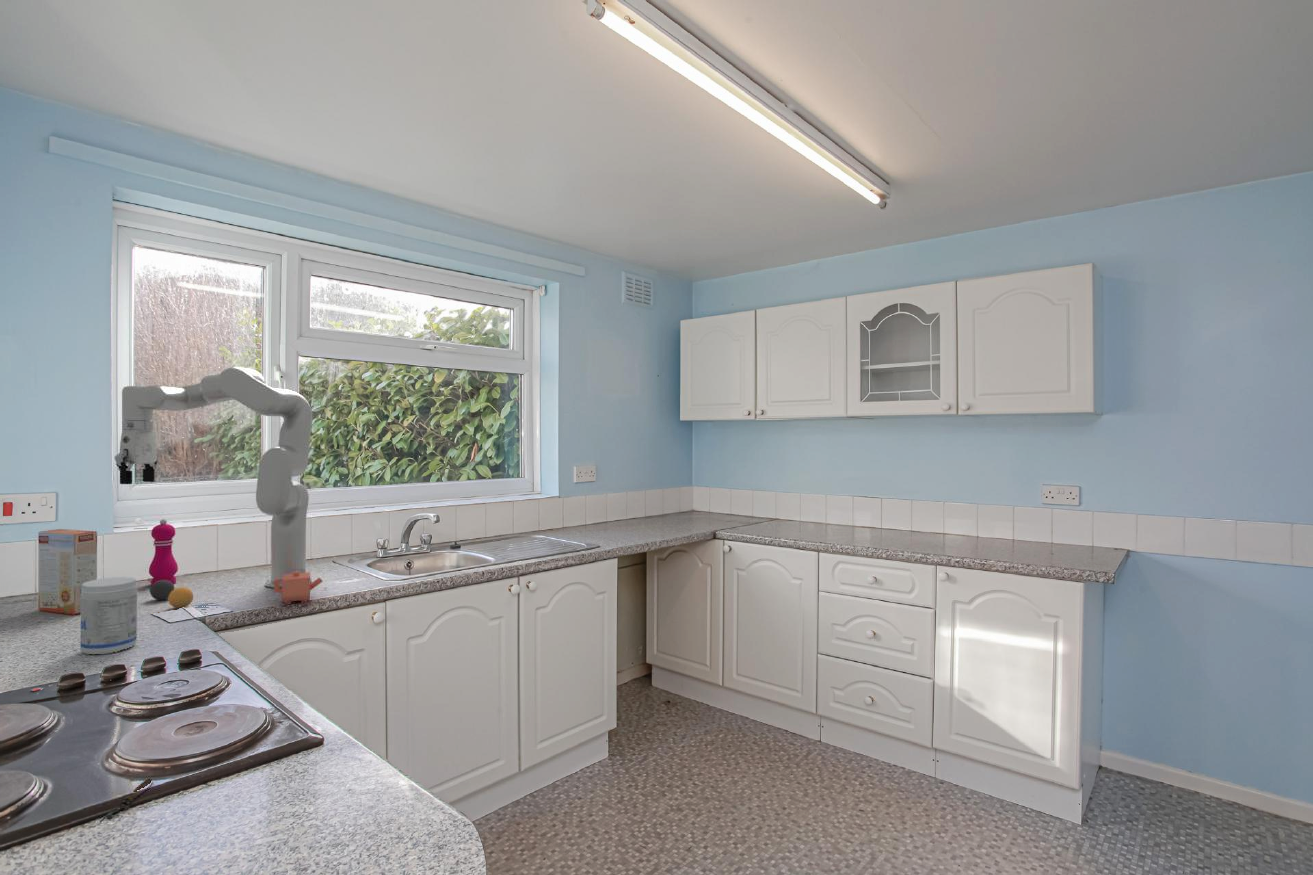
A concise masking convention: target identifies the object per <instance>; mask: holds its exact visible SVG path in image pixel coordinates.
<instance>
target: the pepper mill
mask: <svg viewBox="0 0 1313 875" xmlns="http://www.w3.org/2000/svg"><path fill="white" fill-rule="evenodd" d="M150 534H151V537H152V539H153V546H154V548H155V550H154V556H153V558H152V561H150V562H151V563H150V565H149V567H148V574H149V575H150V576H151V577H152V578H151V579H150V586H151V585H153V584H154V583H155V582H157V581H160V580H168V581H170V582H171V583H172V584H173V585H175V584H176V583H177V577H176V576H175V575H176V573H178V571H179V566H178V562H177V561H176V558H174V554H173V550H172V547H173V545H174V539H173V538H174V537H175V536H176V529H175V527H174V526H173V525H171V524H169V523H168V521H167V519H165V518H162V519H161V520H159V524H157V525H154V527H153V528H152V529H151V531H150ZM174 583H175V584H174Z"/></svg>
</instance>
